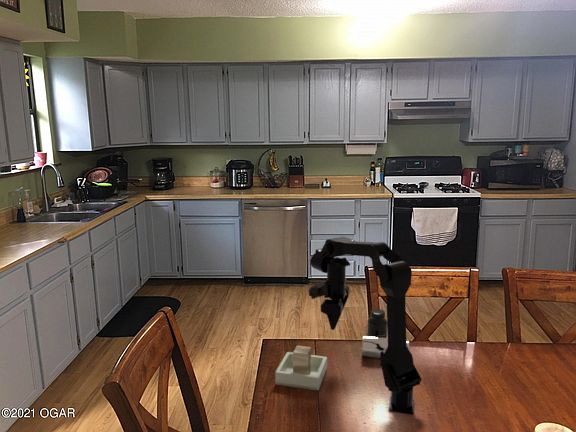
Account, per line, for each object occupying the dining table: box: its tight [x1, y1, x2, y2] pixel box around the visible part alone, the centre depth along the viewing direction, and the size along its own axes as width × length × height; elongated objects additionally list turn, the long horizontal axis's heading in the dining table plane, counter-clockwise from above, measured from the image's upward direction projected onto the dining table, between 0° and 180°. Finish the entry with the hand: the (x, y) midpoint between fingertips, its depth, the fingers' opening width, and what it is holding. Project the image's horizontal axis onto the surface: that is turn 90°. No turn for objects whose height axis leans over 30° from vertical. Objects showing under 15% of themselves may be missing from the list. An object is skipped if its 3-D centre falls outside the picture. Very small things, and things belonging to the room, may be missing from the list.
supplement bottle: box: [366, 308, 388, 338], centre depth 167 cm, size 7×7×12 cm
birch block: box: [292, 345, 312, 375], centre depth 146 cm, size 4×4×8 cm
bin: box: [274, 351, 328, 391], centre depth 147 cm, size 13×13×4 cm
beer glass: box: [361, 334, 410, 359], centre depth 159 cm, size 7×7×15 cm
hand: (335, 323), depth 154 cm, fingers open, 9 cm apart
